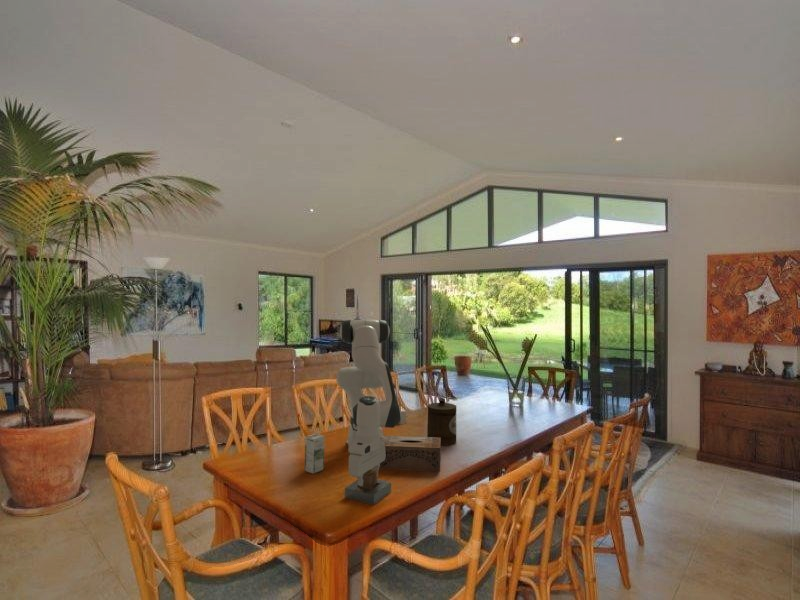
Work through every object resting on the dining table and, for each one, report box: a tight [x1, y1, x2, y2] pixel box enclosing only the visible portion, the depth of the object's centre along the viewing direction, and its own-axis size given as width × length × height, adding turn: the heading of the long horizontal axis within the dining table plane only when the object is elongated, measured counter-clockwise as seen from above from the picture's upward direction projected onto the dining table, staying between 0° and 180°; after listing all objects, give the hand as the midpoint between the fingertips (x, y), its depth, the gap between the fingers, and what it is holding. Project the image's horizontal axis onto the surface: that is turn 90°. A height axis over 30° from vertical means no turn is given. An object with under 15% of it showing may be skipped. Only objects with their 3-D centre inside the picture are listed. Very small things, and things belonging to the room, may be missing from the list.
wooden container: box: [426, 397, 457, 447], centre depth 220 cm, size 15×15×22 cm
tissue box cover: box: [379, 435, 442, 472], centre depth 188 cm, size 26×14×10 cm, turn 84°
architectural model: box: [397, 410, 408, 425], centre depth 254 cm, size 3×7×7 cm, turn 145°
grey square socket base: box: [344, 478, 392, 506], centre depth 157 cm, size 12×12×4 cm
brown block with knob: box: [360, 468, 378, 490], centre depth 157 cm, size 5×5×9 cm
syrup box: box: [304, 433, 325, 474], centre depth 180 cm, size 6×6×14 cm
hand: (368, 480), depth 157 cm, fingers open, 8 cm apart
